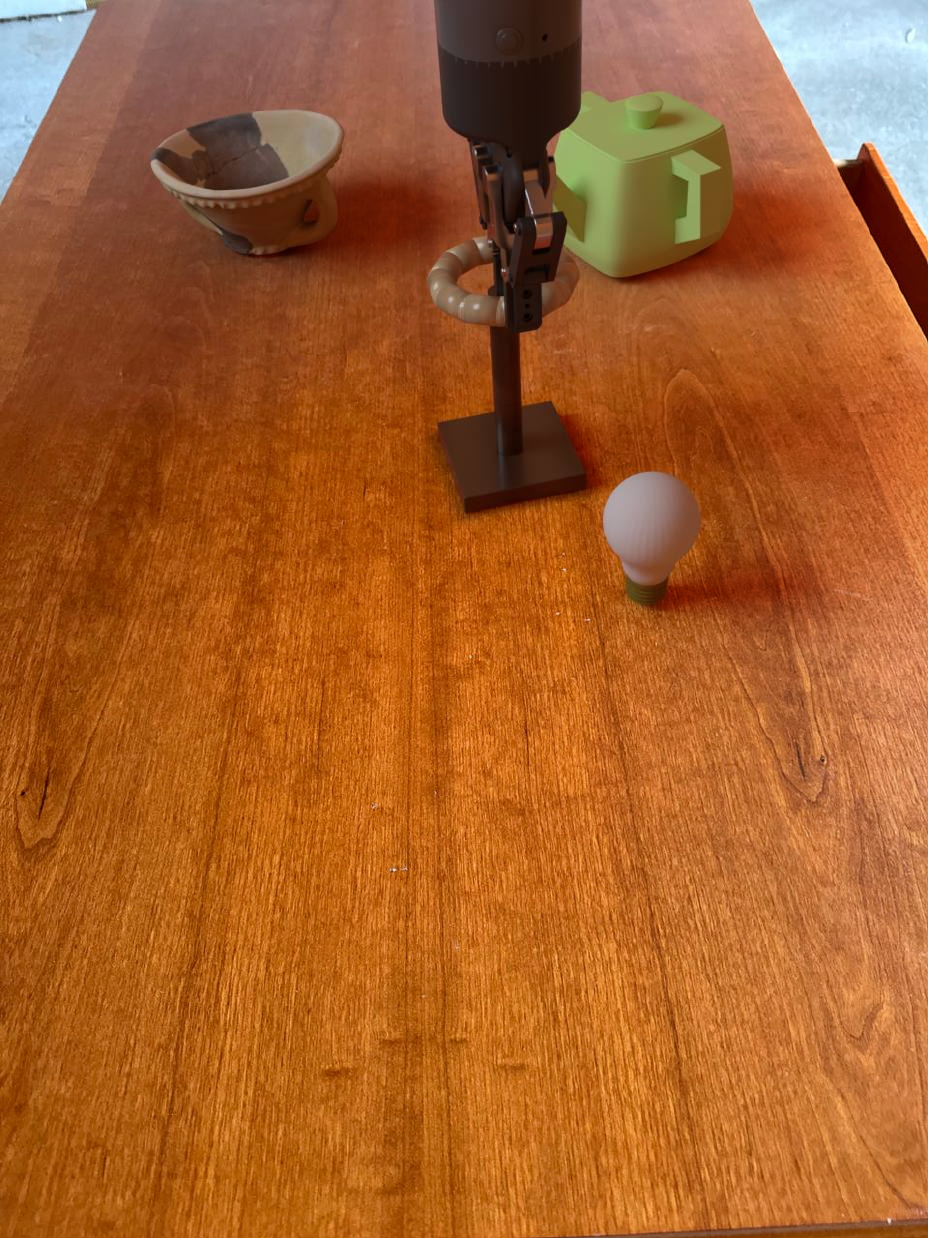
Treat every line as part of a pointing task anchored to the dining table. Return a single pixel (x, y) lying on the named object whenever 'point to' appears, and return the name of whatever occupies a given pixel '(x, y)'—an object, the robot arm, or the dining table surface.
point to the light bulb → (650, 530)
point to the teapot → (642, 182)
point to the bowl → (255, 176)
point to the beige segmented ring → (485, 306)
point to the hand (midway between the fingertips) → (518, 316)
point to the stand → (509, 441)
